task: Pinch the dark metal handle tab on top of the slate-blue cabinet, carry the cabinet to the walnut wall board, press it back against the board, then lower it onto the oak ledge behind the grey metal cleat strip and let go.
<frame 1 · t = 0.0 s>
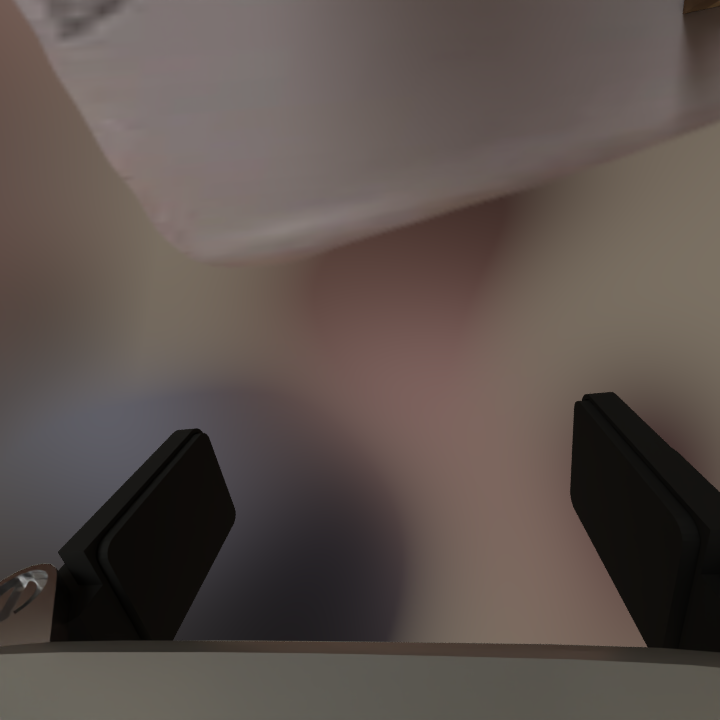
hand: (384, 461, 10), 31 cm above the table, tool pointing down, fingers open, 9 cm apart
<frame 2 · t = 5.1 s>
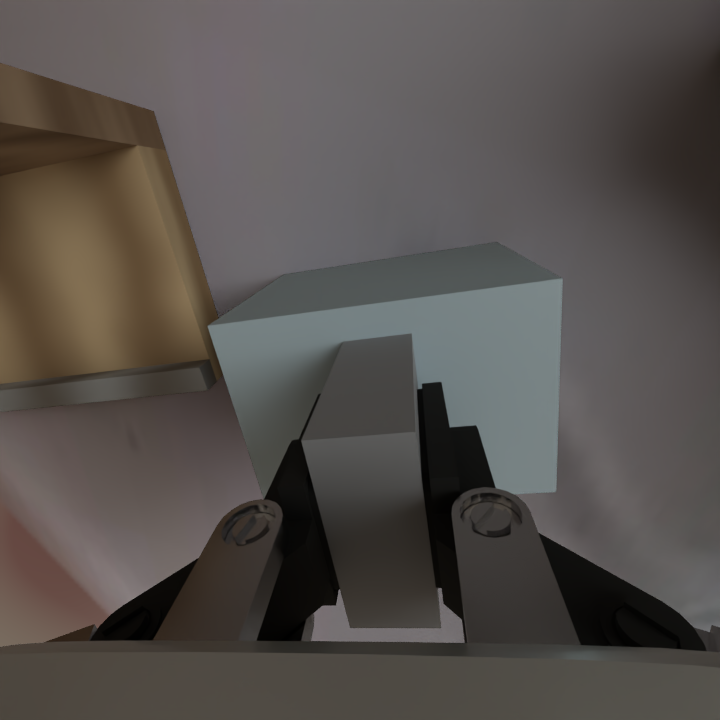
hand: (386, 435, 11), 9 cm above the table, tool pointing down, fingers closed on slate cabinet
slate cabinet: (395, 329, 20), on the table, touching gripper
cleat board: (66, 295, 21), on the table
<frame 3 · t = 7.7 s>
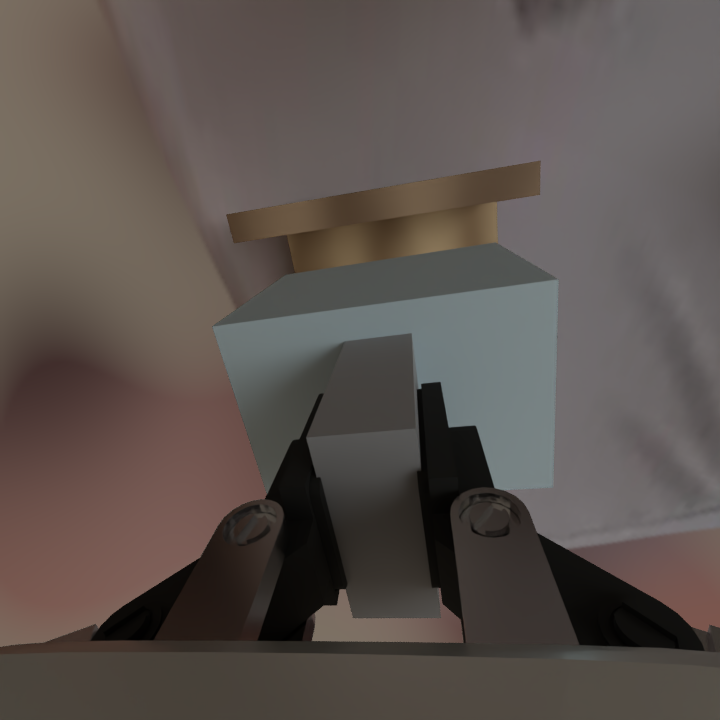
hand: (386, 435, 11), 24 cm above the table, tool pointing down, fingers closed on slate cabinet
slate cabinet: (395, 329, 20), point 15 cm above the table, touching gripper
cleat board: (395, 278, 33), on the table
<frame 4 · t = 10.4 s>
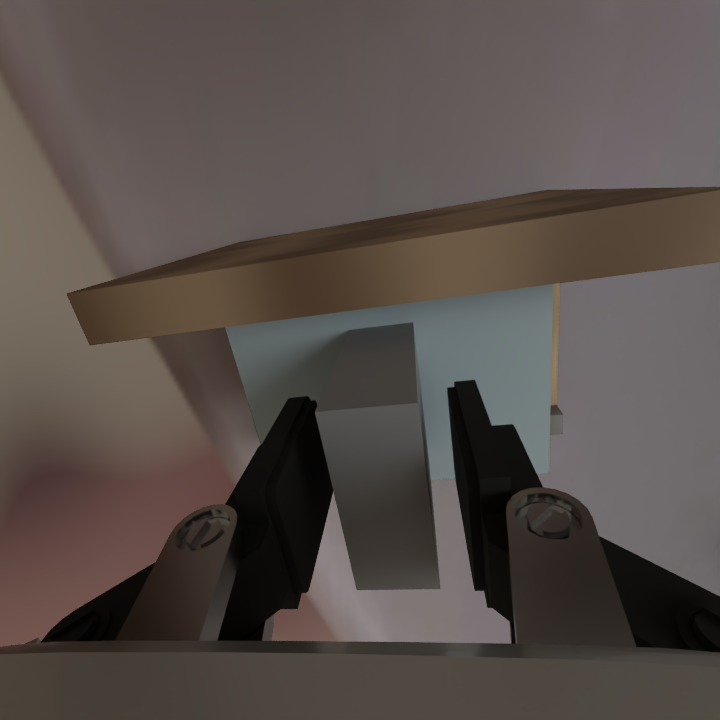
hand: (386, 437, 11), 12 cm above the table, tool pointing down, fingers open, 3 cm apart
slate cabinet: (396, 323, 20), point 2 cm above the table, touching cleat board
cleat board: (400, 343, 23), on the table
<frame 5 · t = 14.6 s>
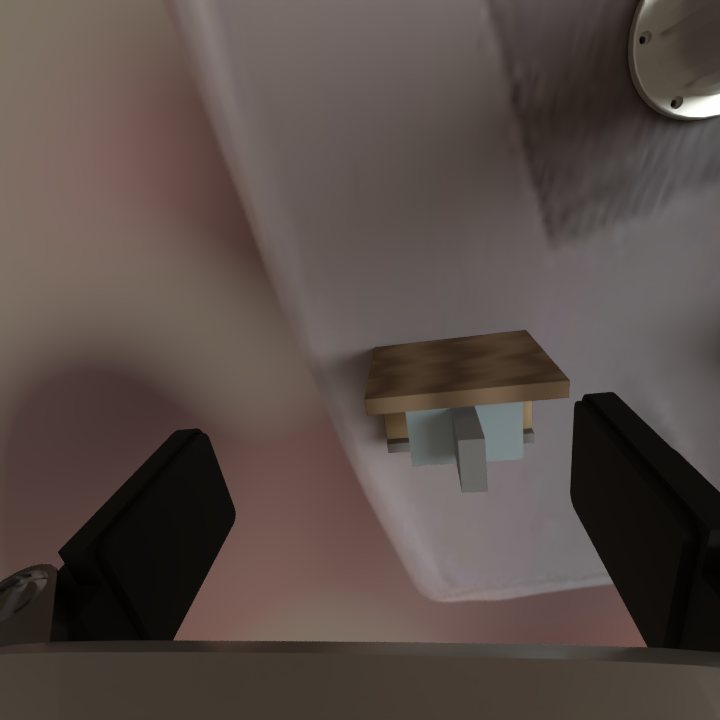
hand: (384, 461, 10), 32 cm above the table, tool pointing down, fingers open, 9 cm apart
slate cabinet: (454, 389, 42), point 2 cm above the table, touching cleat board
cleat board: (453, 396, 45), on the table
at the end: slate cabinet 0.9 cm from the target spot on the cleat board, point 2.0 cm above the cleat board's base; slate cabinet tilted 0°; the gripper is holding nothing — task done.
